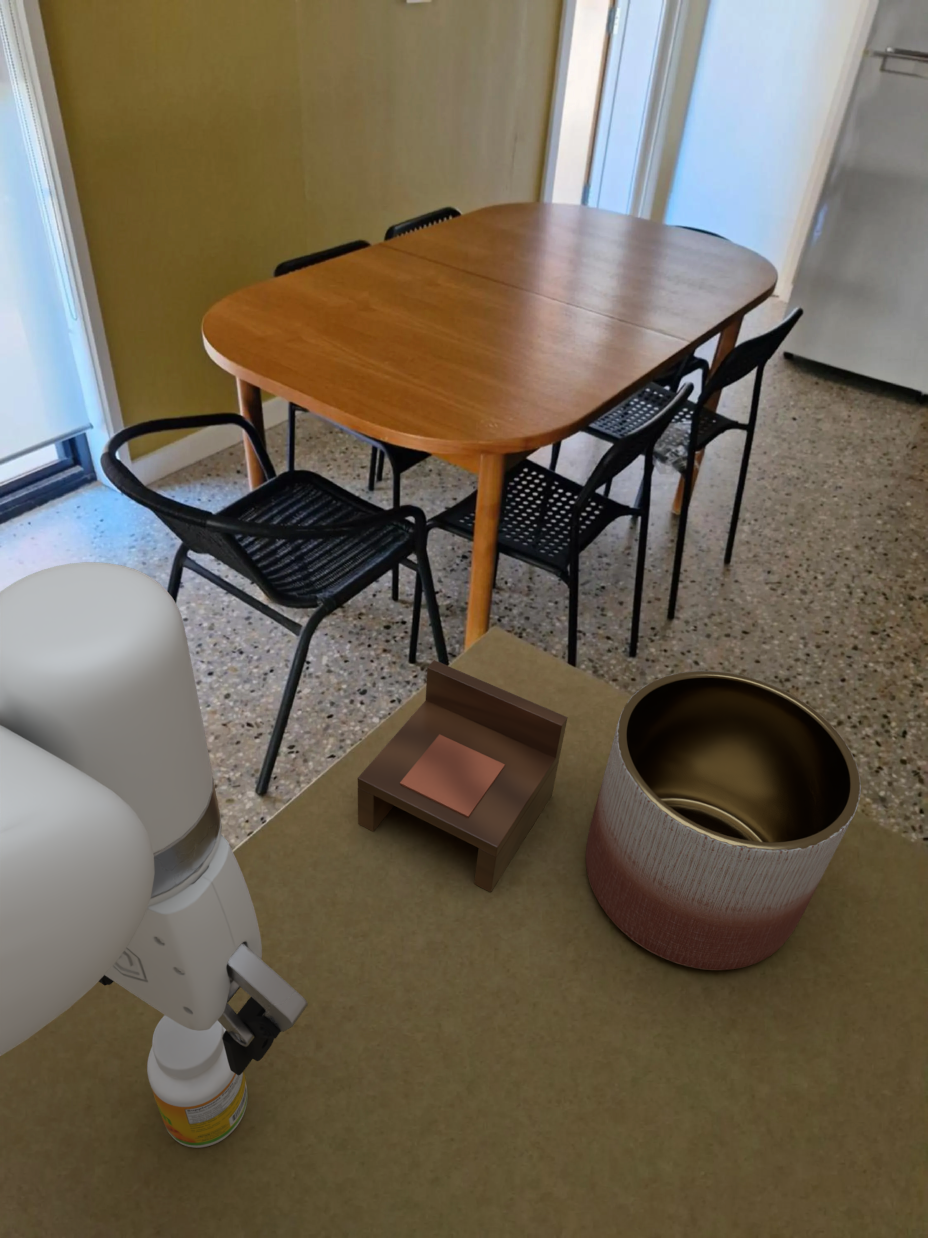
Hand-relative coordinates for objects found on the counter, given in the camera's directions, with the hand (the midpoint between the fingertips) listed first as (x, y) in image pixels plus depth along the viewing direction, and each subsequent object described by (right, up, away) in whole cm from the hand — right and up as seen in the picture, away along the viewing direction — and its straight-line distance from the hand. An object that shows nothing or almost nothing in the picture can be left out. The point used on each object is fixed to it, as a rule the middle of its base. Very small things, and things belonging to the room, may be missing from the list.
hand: (186, 1005), depth 51 cm
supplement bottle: (-1, -10, +8) cm, 13 cm away
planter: (+35, 0, +24) cm, 42 cm away
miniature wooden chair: (+15, +5, +28) cm, 32 cm away
